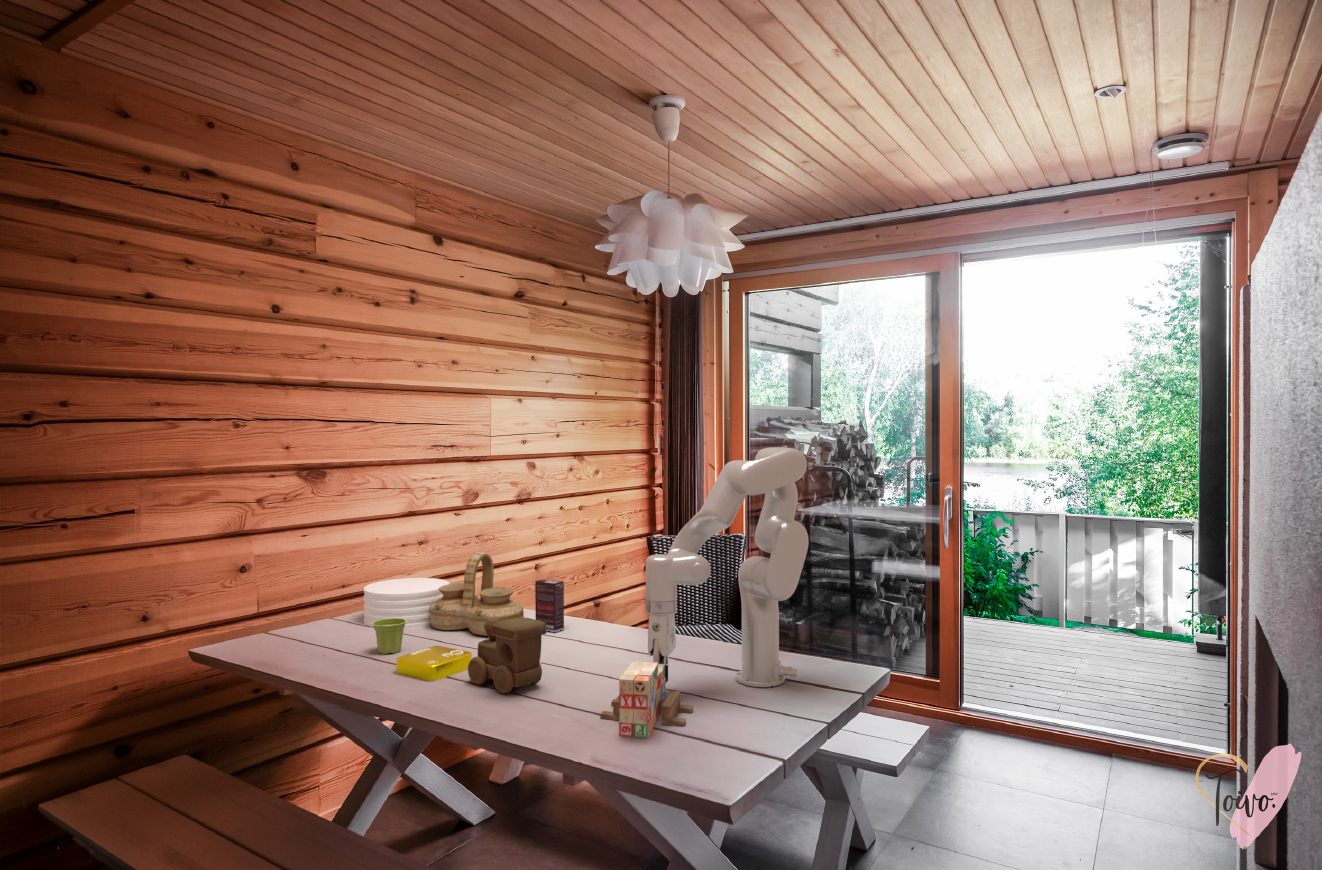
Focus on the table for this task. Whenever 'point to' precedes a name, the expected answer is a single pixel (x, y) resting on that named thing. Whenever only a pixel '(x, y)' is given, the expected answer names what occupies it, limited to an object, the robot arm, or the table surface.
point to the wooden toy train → (509, 653)
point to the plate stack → (402, 600)
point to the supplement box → (550, 603)
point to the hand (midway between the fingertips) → (660, 681)
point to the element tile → (433, 663)
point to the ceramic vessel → (473, 600)
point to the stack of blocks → (641, 698)
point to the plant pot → (389, 634)
